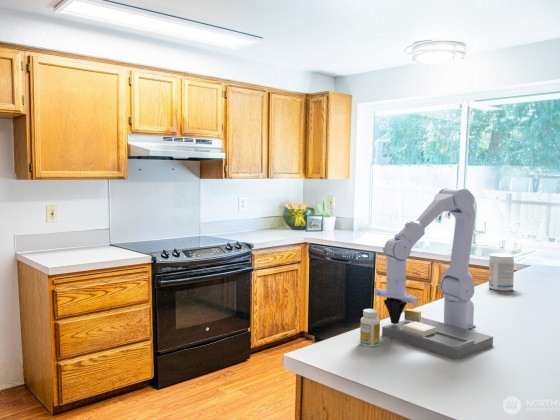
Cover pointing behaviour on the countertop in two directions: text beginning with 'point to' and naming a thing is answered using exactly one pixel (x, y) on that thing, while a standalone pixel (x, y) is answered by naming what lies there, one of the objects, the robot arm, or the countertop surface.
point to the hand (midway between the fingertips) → (394, 322)
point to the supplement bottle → (370, 328)
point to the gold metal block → (412, 315)
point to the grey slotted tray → (441, 338)
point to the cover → (419, 328)
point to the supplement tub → (501, 271)
